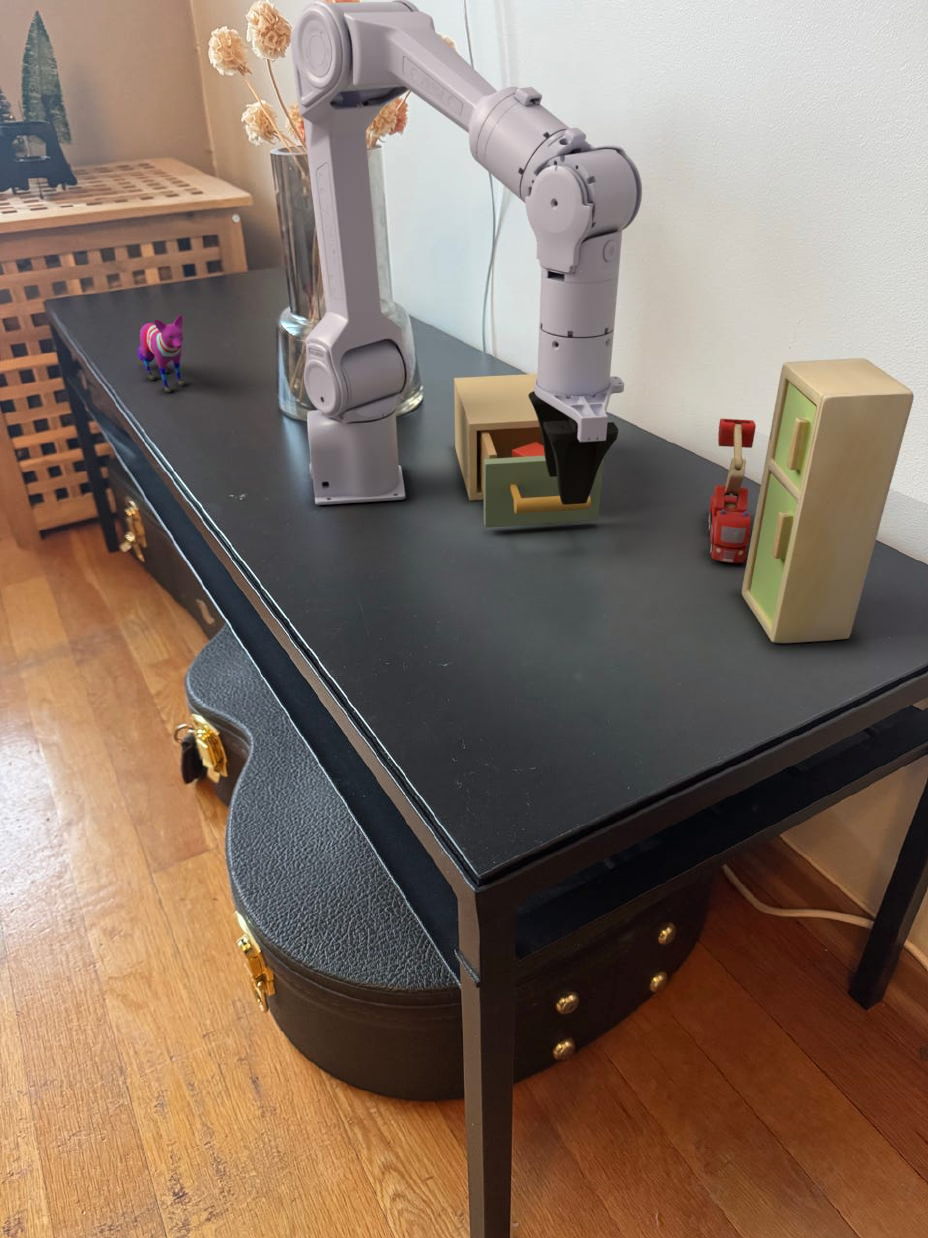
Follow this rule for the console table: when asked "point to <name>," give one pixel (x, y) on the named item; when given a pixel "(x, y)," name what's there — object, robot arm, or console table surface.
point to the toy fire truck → (731, 512)
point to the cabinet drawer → (524, 483)
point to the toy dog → (162, 347)
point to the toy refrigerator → (823, 496)
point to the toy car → (529, 450)
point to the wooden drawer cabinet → (488, 416)
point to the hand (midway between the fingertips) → (566, 488)
